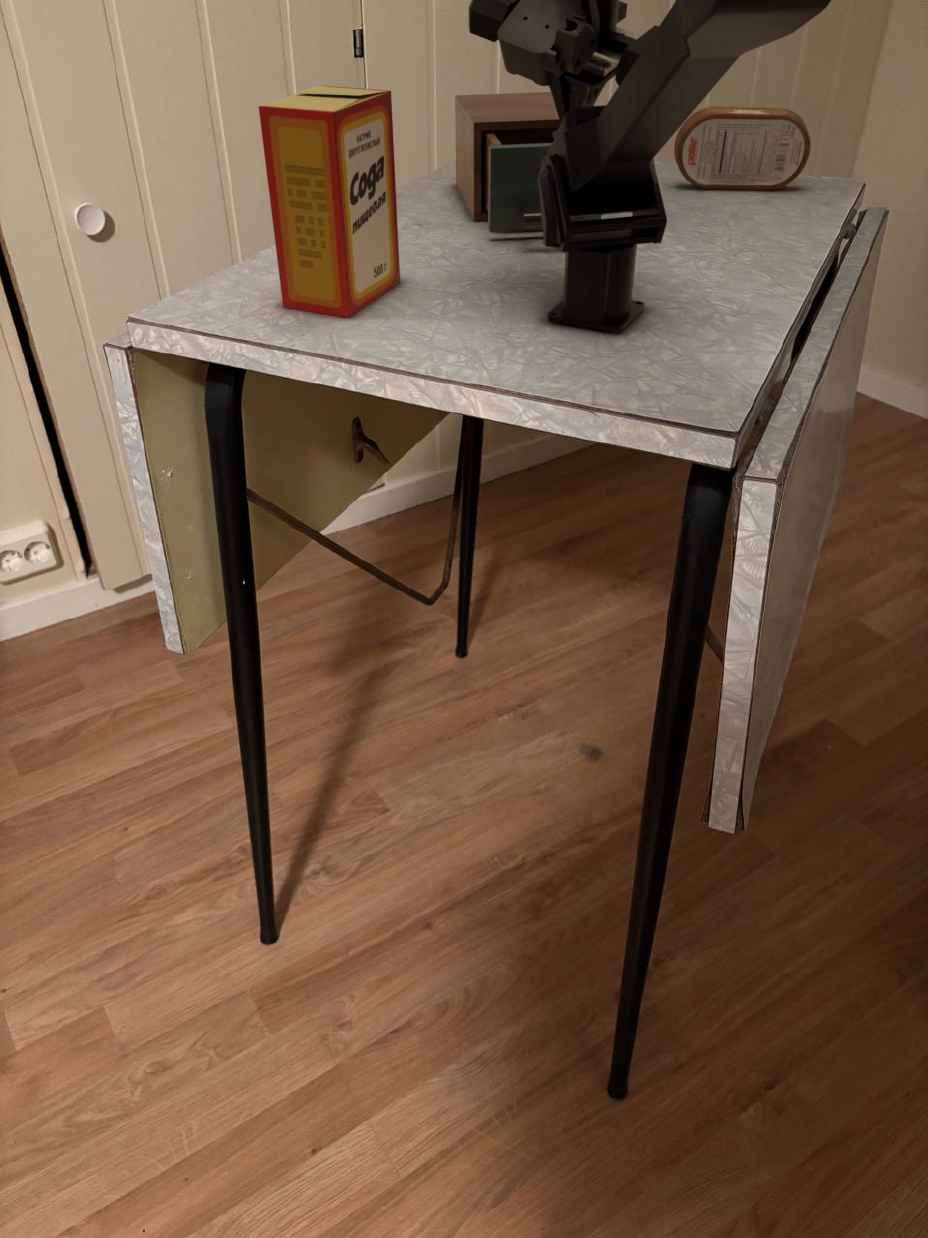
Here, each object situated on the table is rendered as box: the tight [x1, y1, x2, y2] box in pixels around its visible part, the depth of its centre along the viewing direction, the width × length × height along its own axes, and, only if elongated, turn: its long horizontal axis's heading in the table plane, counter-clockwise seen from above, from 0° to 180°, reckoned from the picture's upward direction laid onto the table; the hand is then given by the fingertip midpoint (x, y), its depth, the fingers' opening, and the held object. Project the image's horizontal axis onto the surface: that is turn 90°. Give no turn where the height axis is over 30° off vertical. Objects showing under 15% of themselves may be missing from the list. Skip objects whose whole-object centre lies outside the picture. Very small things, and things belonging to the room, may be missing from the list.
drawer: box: [481, 128, 602, 233], centre depth 100 cm, size 18×11×8 cm, turn 8°
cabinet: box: [454, 91, 561, 222], centre depth 108 cm, size 15×13×10 cm
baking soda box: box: [258, 85, 401, 319], centre depth 82 cm, size 10×6×16 cm
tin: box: [673, 105, 812, 191], centre depth 112 cm, size 15×3×8 cm, turn 84°
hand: (571, 136), depth 86 cm, fingers closed
